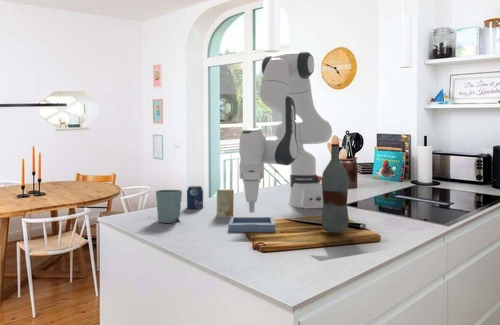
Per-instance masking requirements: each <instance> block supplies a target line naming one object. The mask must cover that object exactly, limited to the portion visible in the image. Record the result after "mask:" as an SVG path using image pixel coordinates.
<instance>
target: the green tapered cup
mask: <svg viewBox="0 0 500 325" xmlns="http://www.w3.org/2000/svg"><path fill="white" fill-rule="evenodd" d="M182 194H183V190H180V189H161V190H155V197H156V204H157V205H156V209H157V210H156V211H157V222H158V223H162V224H163V223H166V224H167V223H177V222H179V221H180V219H179V218H180V217H181V204H182Z"/></svg>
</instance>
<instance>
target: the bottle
mask: <svg viewBox="0 0 500 325" xmlns="http://www.w3.org/2000/svg"><path fill="white" fill-rule="evenodd" d="M330 146H331V147H330V148H331V151H330V152H331V153H330V160H329V162H328V164H327V165H326V166H325V169H324V170H323V172H322V175H321V177H322V180H321V184H322V193H323V208H322V210H321V227H322V229H323V231H324V230H325V231H324V232H329V233H344V231H345V232H347V231H348V228H349V212H348V206H347V205H348V195H349V194H348V193H349V184H350V183H349V174H348V172H347V170H346V169H345V167H344V165H343V164H342V162H341V160H340V149H339V146H340V144H339V143H331V144H330Z"/></svg>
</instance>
